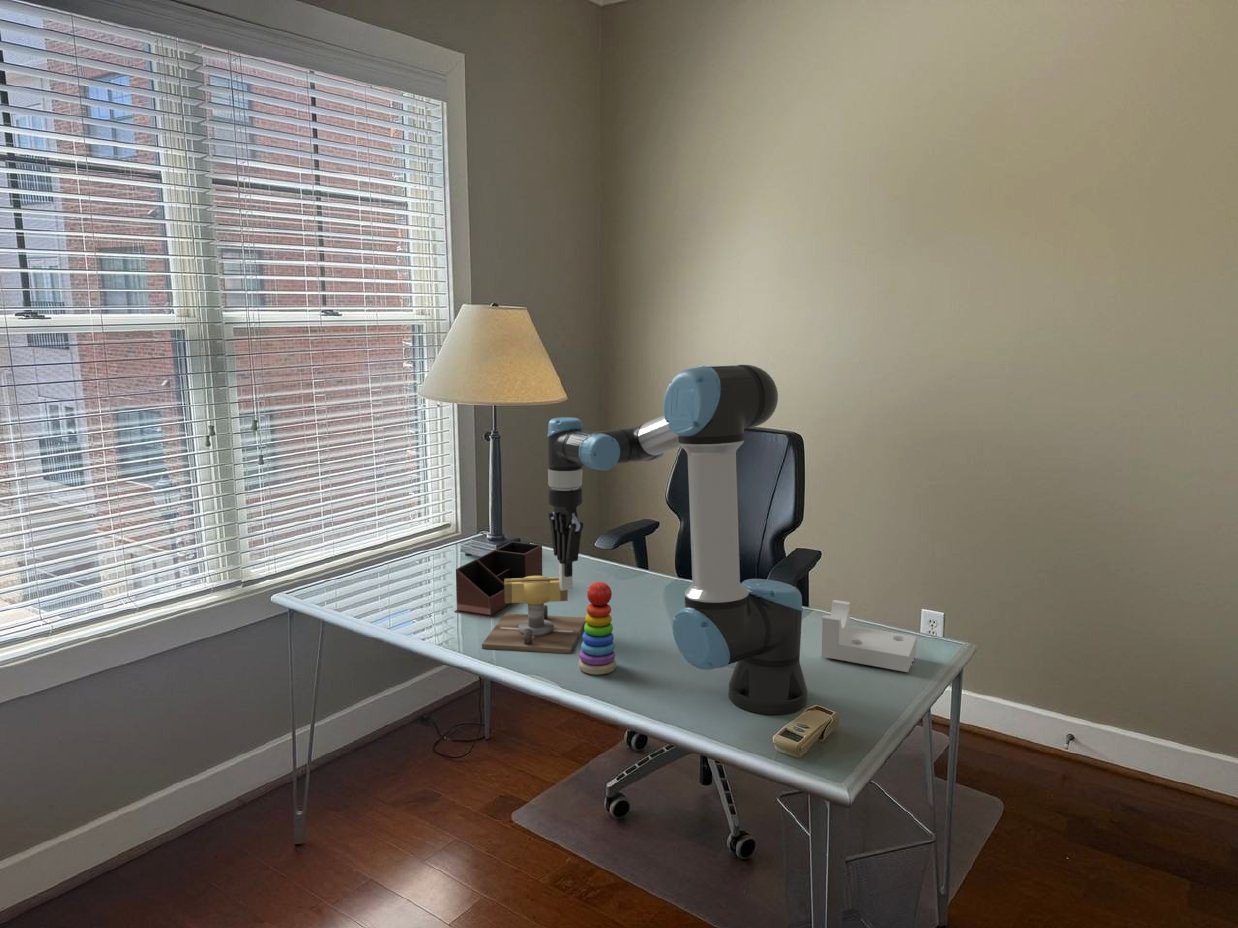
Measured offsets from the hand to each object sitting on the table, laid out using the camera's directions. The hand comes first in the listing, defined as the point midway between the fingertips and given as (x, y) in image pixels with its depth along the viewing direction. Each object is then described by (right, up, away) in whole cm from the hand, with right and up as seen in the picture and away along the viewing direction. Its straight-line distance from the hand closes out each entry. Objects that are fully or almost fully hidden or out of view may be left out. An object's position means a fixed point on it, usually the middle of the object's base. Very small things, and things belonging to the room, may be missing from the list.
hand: (565, 588), depth 203 cm
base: (-7, -11, +3) cm, 13 cm away
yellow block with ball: (-7, -3, +2) cm, 8 cm away
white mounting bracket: (+66, -14, -10) cm, 68 cm away
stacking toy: (+8, -15, -16) cm, 23 cm away
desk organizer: (-18, -7, +29) cm, 35 cm away
